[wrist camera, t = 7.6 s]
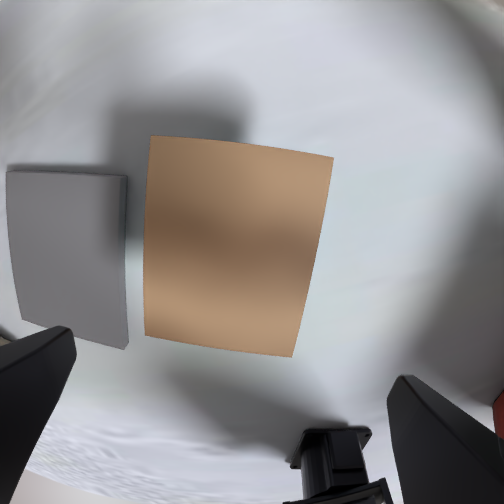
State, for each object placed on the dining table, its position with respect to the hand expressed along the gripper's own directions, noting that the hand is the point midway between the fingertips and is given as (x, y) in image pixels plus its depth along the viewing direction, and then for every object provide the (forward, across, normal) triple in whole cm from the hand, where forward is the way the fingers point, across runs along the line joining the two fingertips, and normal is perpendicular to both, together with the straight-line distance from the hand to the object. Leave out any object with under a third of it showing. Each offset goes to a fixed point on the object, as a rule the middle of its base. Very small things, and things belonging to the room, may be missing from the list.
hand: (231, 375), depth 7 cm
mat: (+12, +13, +3) cm, 18 cm away
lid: (+8, +1, -1) cm, 8 cm away
